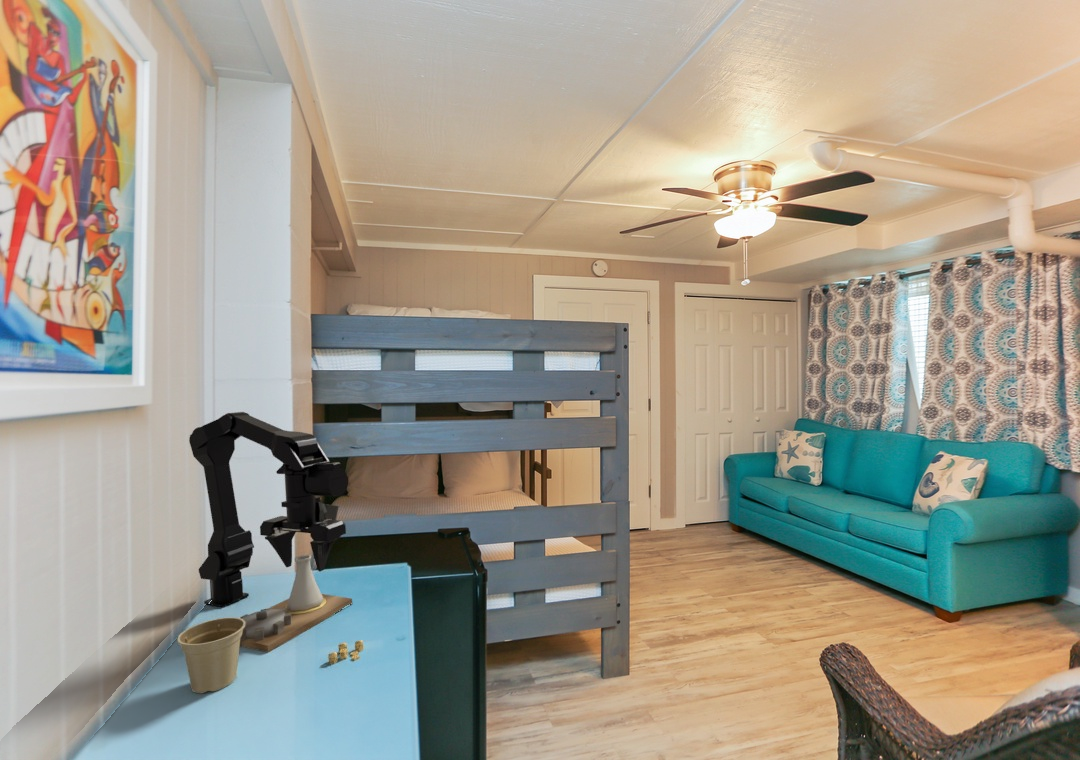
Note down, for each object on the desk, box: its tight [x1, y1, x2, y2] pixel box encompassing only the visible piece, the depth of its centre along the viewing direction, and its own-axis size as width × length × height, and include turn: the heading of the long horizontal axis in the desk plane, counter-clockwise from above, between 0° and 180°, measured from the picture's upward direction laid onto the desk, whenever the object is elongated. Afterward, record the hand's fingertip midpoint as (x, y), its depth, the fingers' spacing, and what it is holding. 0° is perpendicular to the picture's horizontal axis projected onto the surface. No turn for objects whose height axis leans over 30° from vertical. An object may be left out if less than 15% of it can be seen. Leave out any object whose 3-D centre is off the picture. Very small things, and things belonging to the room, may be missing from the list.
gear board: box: [239, 593, 353, 653], centre depth 108 cm, size 14×22×4 cm, turn 157°
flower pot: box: [176, 616, 245, 694], centre depth 86 cm, size 9×9×9 cm
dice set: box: [327, 639, 364, 665], centre depth 93 cm, size 5×5×2 cm
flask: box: [286, 554, 324, 611], centre depth 112 cm, size 7×7×10 cm
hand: (304, 568), depth 112 cm, fingers open, 9 cm apart
